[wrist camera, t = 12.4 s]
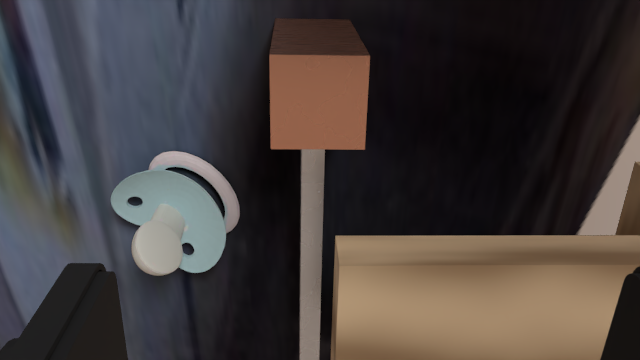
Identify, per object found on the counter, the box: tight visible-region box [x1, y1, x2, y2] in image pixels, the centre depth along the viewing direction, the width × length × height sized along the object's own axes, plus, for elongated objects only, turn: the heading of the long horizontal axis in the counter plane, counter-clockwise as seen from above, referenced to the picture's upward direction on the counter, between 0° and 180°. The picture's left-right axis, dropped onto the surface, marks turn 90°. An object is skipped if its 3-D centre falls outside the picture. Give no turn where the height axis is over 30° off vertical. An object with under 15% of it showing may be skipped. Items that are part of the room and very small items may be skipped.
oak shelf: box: [331, 162, 640, 360], centre depth 32 cm, size 11×21×12 cm, turn 89°
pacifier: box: [111, 151, 240, 276], centre depth 32 cm, size 7×6×6 cm
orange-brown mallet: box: [269, 19, 370, 360], centre depth 31 cm, size 20×4×9 cm, turn 179°
